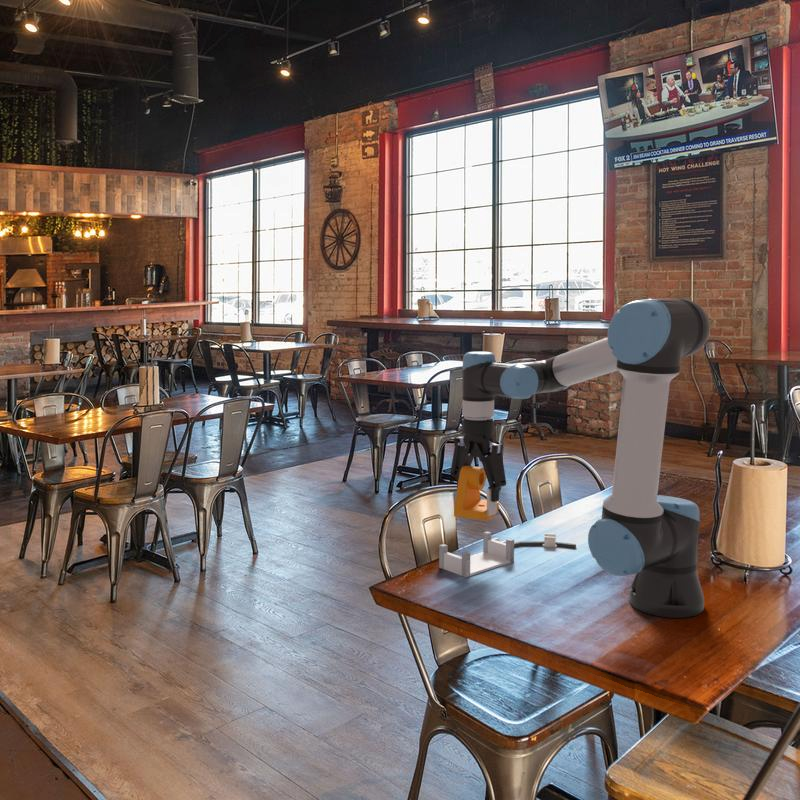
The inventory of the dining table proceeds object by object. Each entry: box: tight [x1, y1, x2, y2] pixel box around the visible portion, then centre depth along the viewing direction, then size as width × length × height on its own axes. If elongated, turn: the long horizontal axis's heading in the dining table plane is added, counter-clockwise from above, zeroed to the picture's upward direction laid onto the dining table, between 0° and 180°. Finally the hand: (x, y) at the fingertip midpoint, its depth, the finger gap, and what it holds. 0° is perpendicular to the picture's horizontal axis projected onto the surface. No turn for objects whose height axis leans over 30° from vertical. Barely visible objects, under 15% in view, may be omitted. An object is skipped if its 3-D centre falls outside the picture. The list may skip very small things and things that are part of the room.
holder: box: [438, 531, 515, 578], centre depth 203 cm, size 9×17×6 cm, turn 131°
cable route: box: [492, 532, 577, 549], centre depth 216 cm, size 6×23×3 cm, turn 100°
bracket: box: [453, 465, 500, 522], centre depth 201 cm, size 11×7×12 cm, turn 151°
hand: (477, 510), depth 201 cm, fingers closed on bracket, 9 cm apart
